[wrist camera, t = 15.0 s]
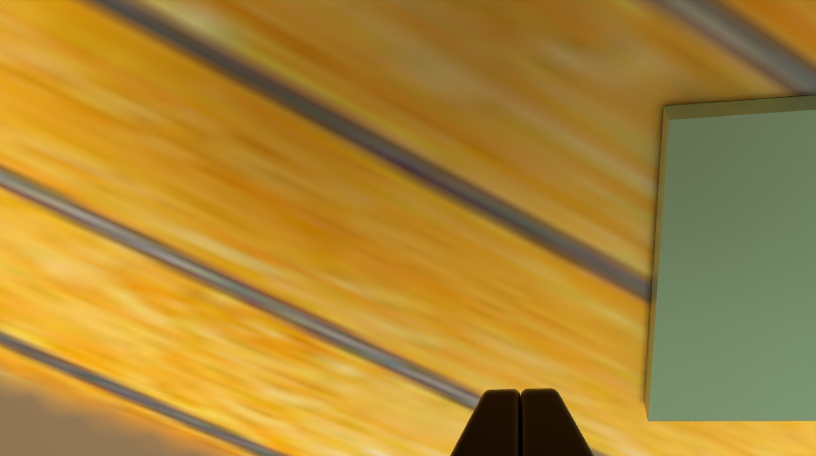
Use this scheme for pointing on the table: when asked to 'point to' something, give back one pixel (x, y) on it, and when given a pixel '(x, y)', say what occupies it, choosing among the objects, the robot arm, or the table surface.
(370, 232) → the table surface
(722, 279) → the board
